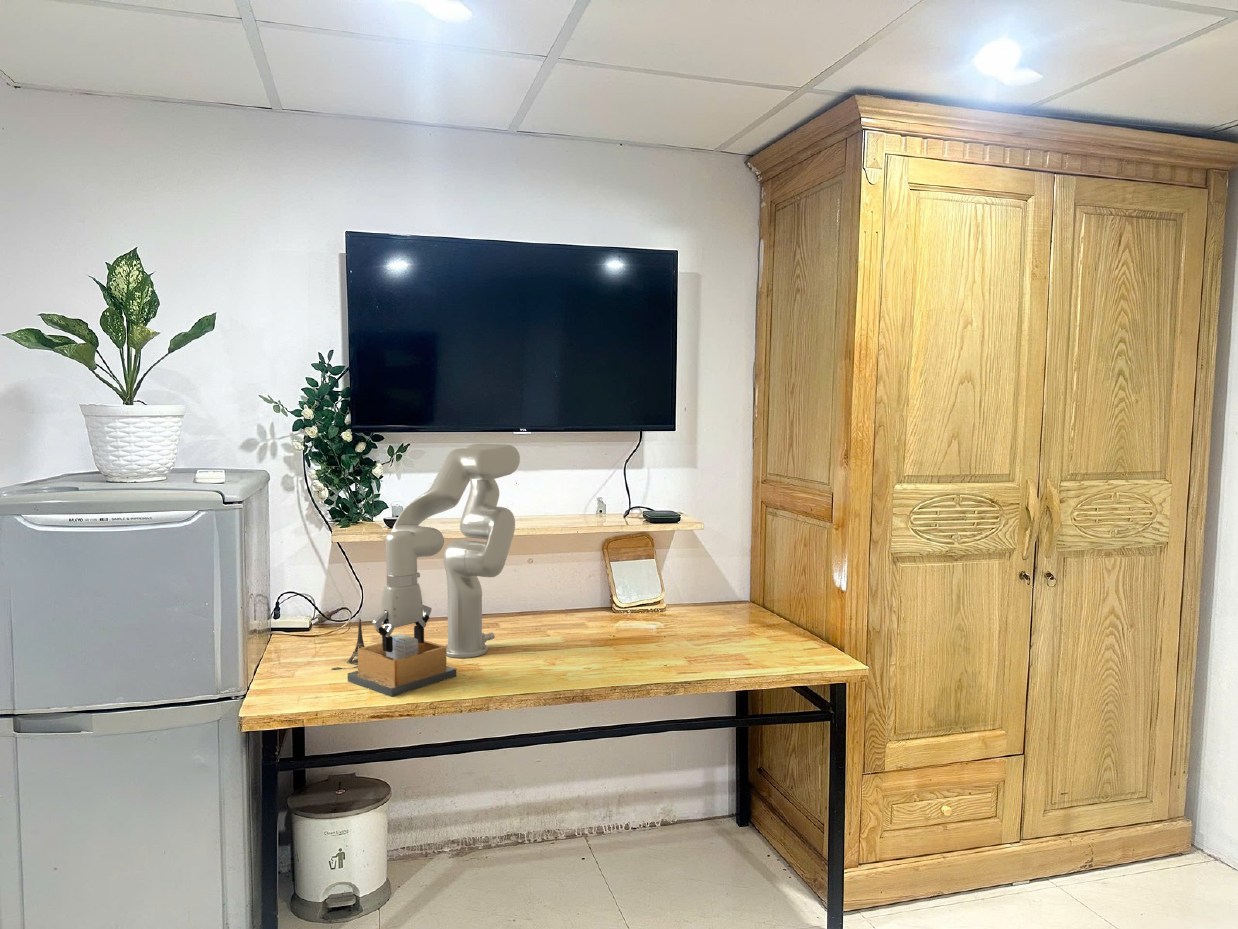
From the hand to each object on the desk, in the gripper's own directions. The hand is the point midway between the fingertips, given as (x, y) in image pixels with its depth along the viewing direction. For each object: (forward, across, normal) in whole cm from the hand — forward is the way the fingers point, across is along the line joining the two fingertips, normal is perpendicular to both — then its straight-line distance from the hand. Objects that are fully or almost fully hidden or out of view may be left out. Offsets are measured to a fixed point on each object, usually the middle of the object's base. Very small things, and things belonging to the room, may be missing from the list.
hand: (403, 646), depth 218 cm
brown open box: (+8, +1, 0) cm, 8 cm away
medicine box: (+6, +1, 0) cm, 6 cm away
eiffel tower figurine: (+9, 0, -20) cm, 22 cm away
